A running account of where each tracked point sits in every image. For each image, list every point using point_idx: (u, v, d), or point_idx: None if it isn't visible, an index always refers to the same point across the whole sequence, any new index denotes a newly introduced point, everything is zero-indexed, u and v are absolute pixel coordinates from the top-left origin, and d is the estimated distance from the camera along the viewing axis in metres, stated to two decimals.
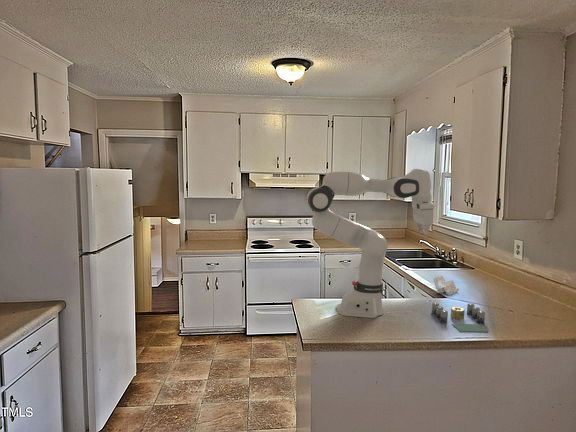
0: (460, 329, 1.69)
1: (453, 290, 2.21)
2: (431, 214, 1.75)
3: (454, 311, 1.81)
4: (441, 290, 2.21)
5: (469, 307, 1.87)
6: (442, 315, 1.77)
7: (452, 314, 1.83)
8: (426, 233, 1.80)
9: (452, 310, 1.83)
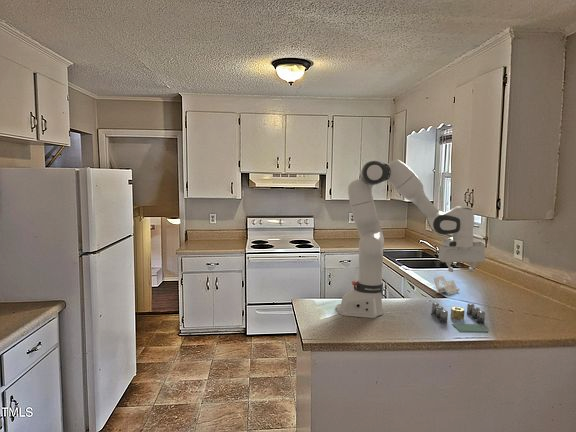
0: (460, 329, 1.69)
1: (454, 290, 2.21)
2: (442, 251, 1.78)
3: (454, 311, 1.81)
4: (441, 290, 2.21)
5: (469, 307, 1.87)
6: (442, 315, 1.77)
7: (452, 314, 1.83)
8: (449, 270, 1.81)
9: (452, 310, 1.83)
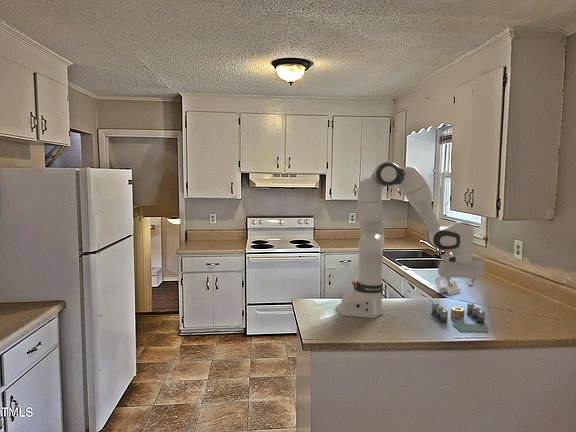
0: (460, 329, 1.69)
1: (455, 290, 2.21)
2: (442, 266, 1.79)
3: (454, 311, 1.81)
4: (443, 290, 2.21)
5: (469, 307, 1.87)
6: (442, 315, 1.77)
7: (452, 314, 1.83)
8: (448, 285, 1.81)
9: (452, 310, 1.83)
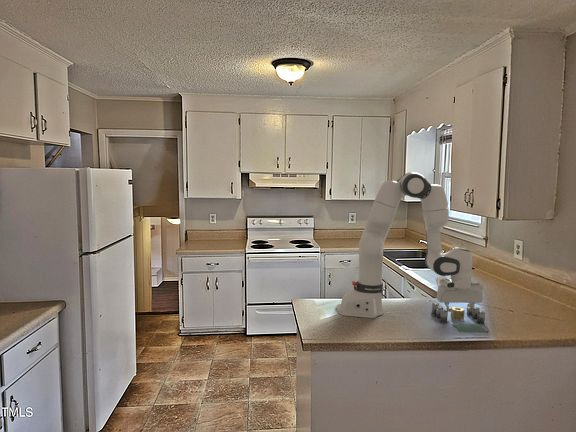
0: (460, 329, 1.69)
1: None
2: (440, 291, 1.80)
3: (454, 311, 1.81)
4: None
5: None
6: (442, 315, 1.77)
7: (452, 314, 1.83)
8: (447, 310, 1.82)
9: (452, 310, 1.83)
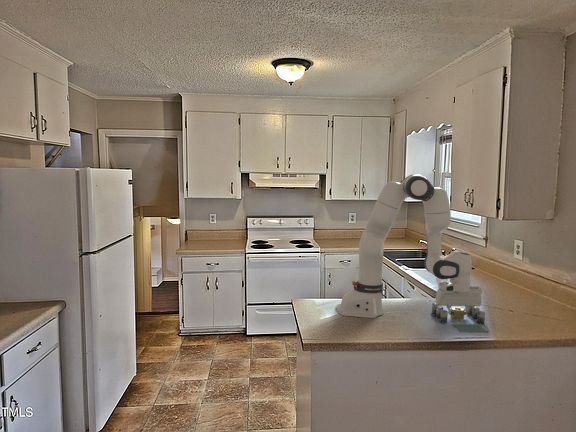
0: (460, 329, 1.69)
1: None
2: (439, 294, 1.80)
3: (454, 311, 1.81)
4: None
5: None
6: (442, 315, 1.77)
7: None
8: (449, 313, 1.83)
9: (452, 310, 1.83)
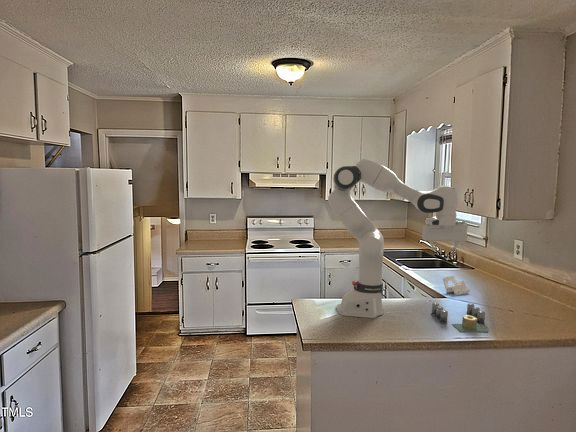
0: (460, 329, 1.69)
1: (463, 291, 2.21)
2: (425, 229, 1.81)
3: (466, 320, 1.69)
4: (450, 290, 2.22)
5: (469, 307, 1.87)
6: (442, 315, 1.77)
7: (464, 323, 1.71)
8: (432, 249, 1.83)
9: (464, 319, 1.71)
